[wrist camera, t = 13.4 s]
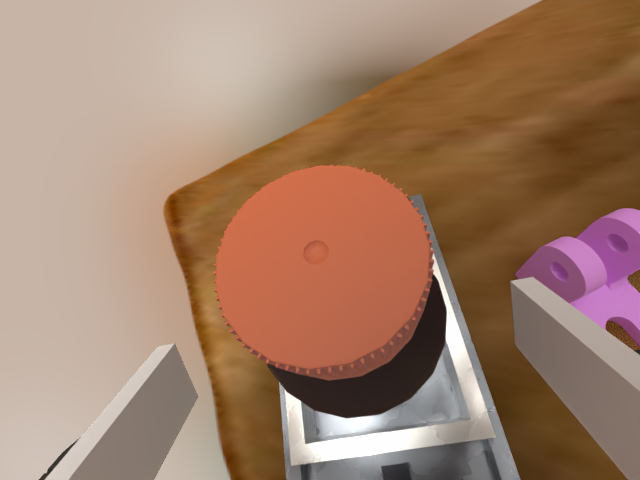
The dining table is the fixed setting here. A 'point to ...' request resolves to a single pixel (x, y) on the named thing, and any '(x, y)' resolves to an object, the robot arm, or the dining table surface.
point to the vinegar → (334, 289)
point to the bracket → (595, 270)
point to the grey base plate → (409, 420)
